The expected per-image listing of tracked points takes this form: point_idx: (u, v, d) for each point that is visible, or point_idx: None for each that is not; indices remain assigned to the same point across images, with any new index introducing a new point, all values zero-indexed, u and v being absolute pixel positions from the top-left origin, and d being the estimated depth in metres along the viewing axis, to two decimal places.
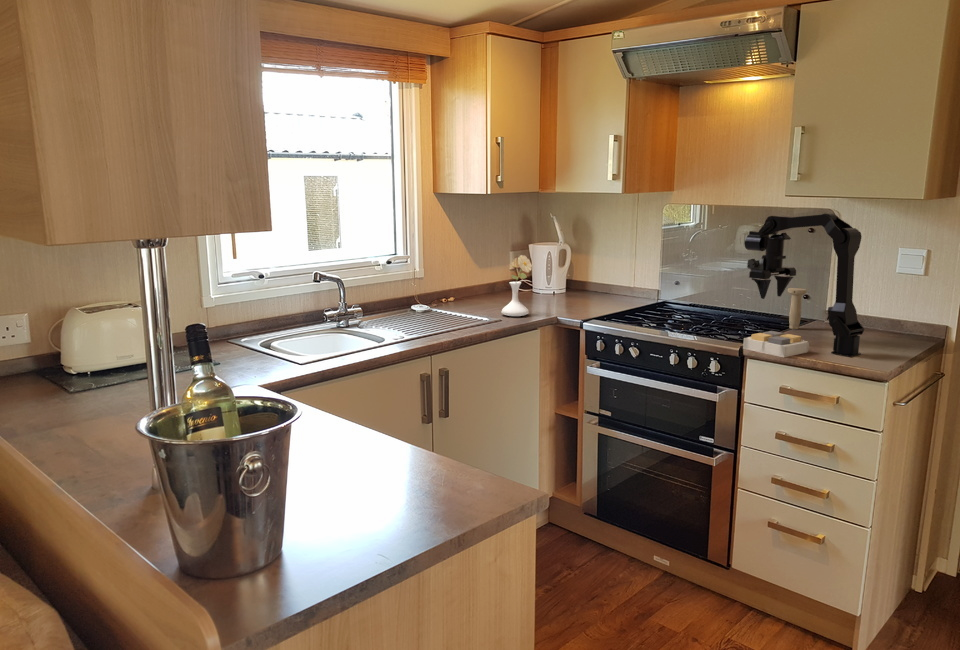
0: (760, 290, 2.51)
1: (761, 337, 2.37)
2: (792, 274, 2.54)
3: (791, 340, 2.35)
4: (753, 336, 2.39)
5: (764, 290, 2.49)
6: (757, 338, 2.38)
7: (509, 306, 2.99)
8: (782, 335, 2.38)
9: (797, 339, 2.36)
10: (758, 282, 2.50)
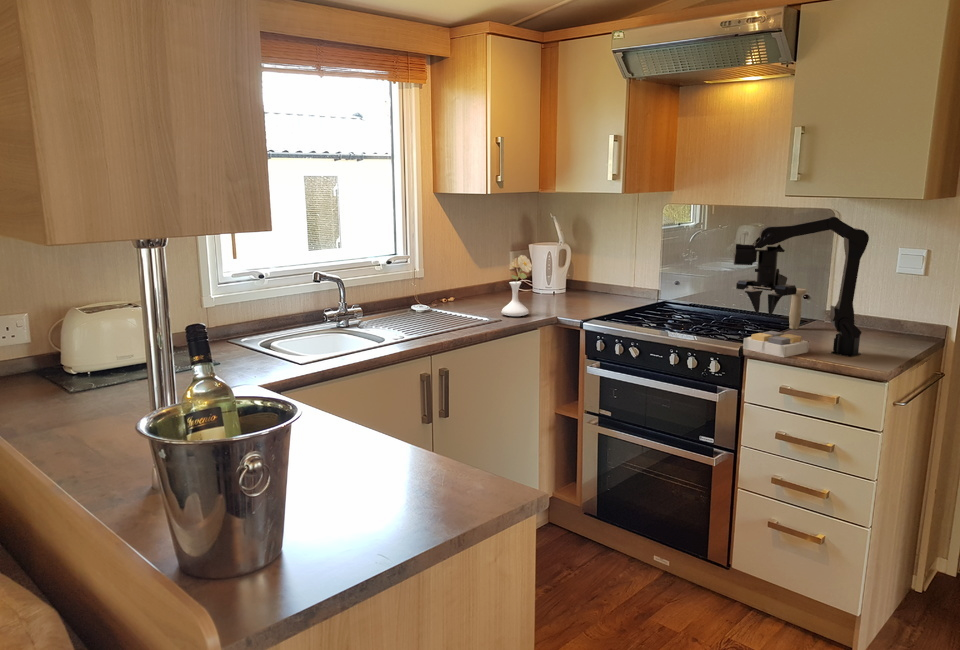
0: None
1: (761, 337, 2.37)
2: (778, 292, 2.29)
3: (791, 340, 2.35)
4: (753, 336, 2.39)
5: None
6: (757, 338, 2.38)
7: (509, 306, 2.99)
8: (782, 335, 2.38)
9: (797, 339, 2.36)
10: None
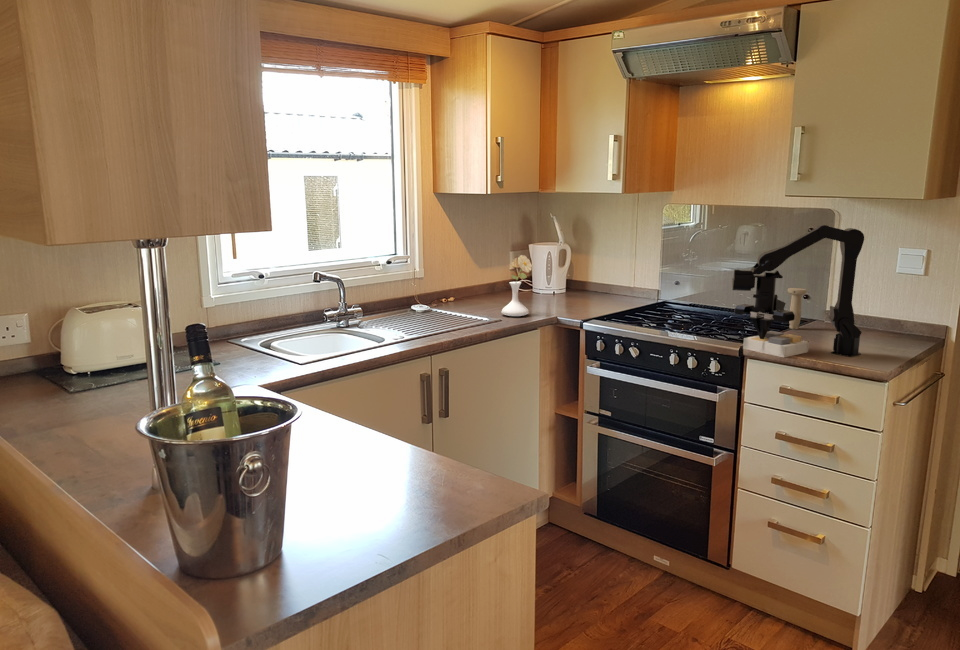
0: None
1: None
2: (776, 319, 2.31)
3: (791, 340, 2.35)
4: None
5: None
6: None
7: (509, 306, 2.99)
8: (782, 335, 2.38)
9: (797, 339, 2.36)
10: None
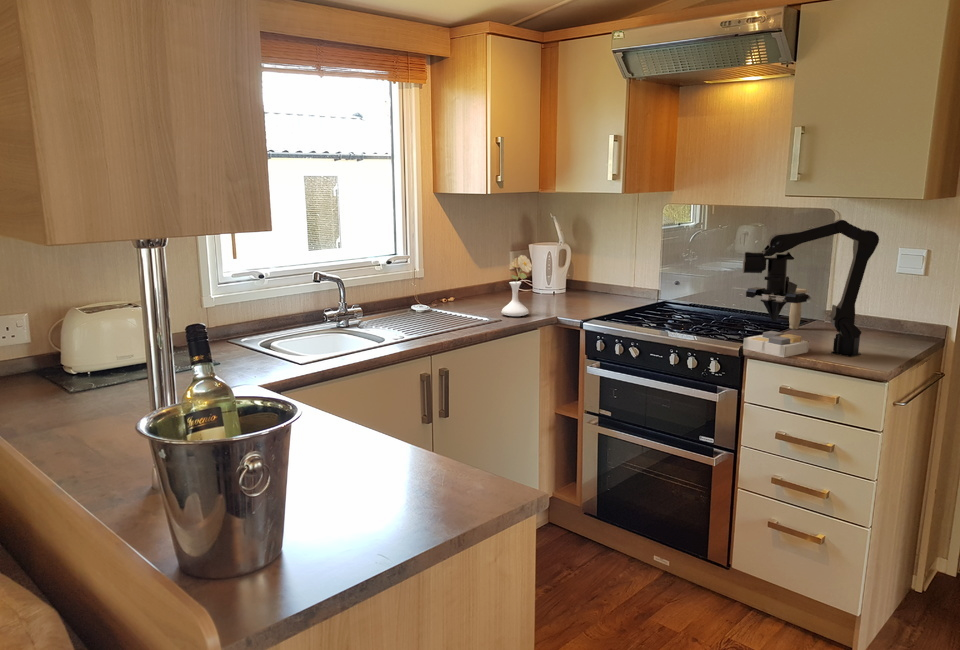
0: None
1: None
2: (788, 300, 2.29)
3: (791, 340, 2.35)
4: None
5: None
6: None
7: (509, 306, 2.99)
8: (782, 335, 2.38)
9: (797, 339, 2.36)
10: None
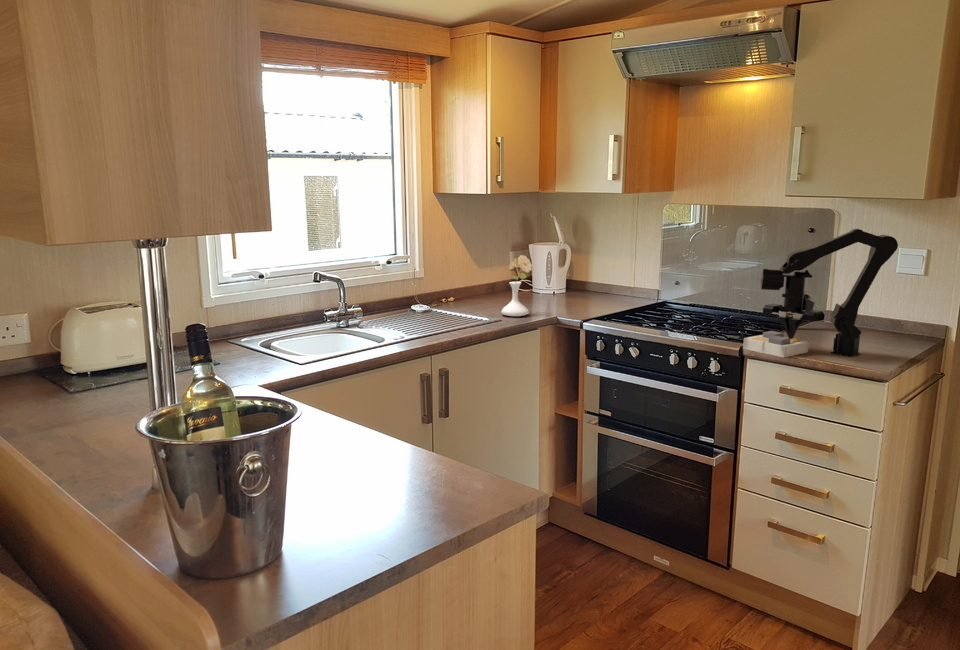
0: None
1: None
2: (806, 318, 2.29)
3: None
4: None
5: None
6: None
7: (509, 306, 2.99)
8: None
9: None
10: None
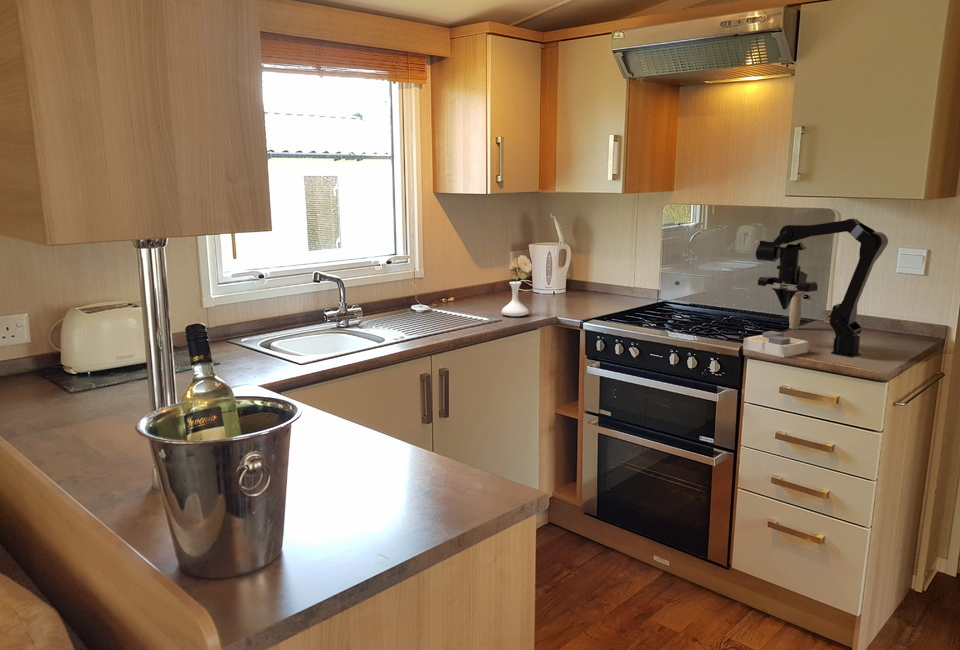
0: None
1: None
2: (800, 289, 2.37)
3: None
4: None
5: None
6: None
7: (509, 306, 2.99)
8: None
9: None
10: None
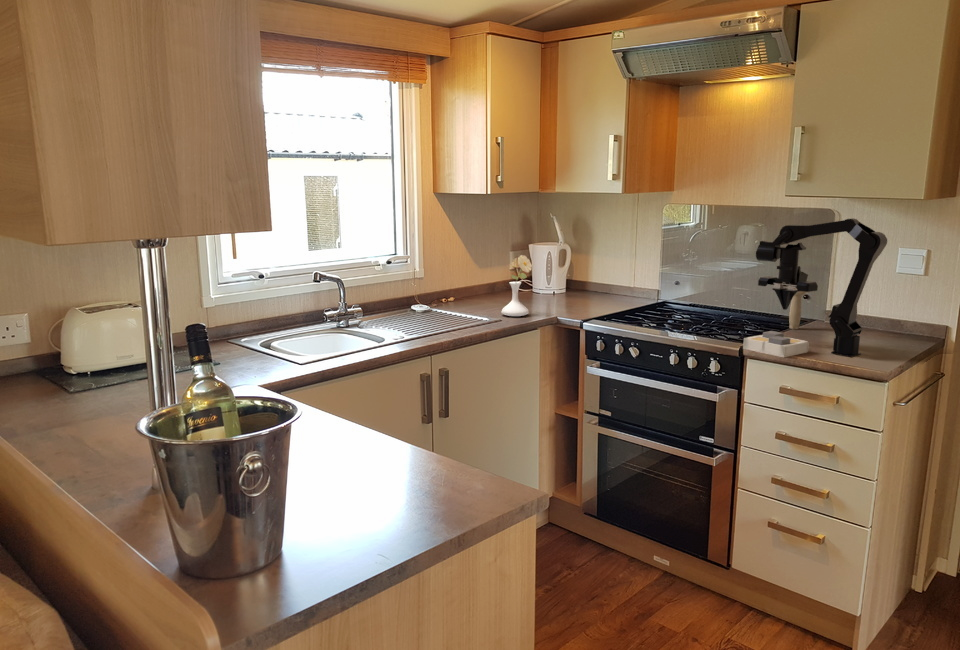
0: None
1: None
2: (800, 289, 2.37)
3: None
4: None
5: None
6: None
7: (509, 306, 2.99)
8: None
9: None
10: None
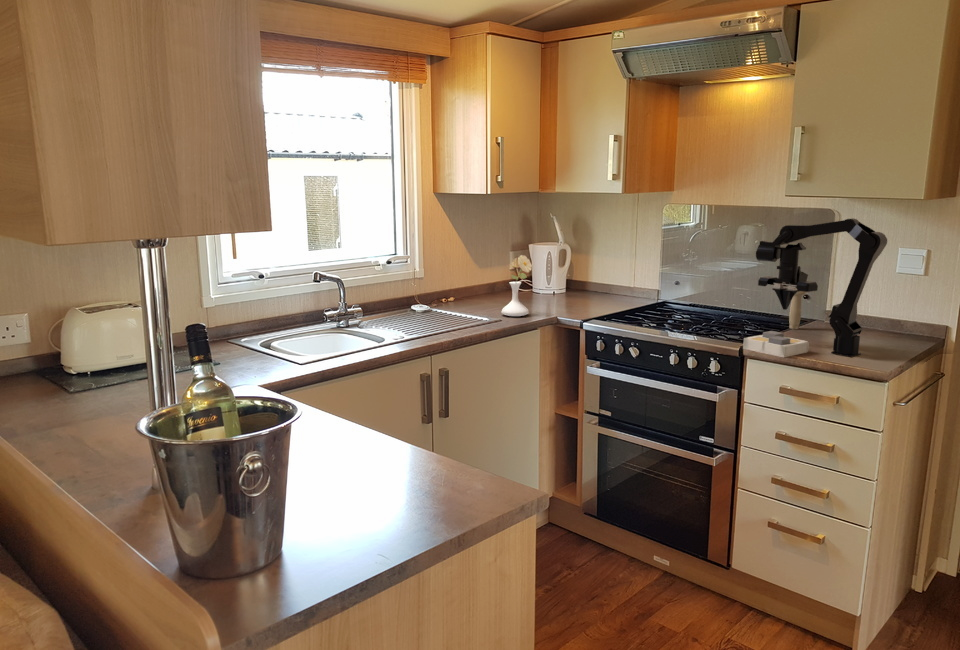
0: None
1: None
2: (800, 289, 2.37)
3: None
4: None
5: None
6: None
7: (509, 306, 2.99)
8: None
9: None
10: None
